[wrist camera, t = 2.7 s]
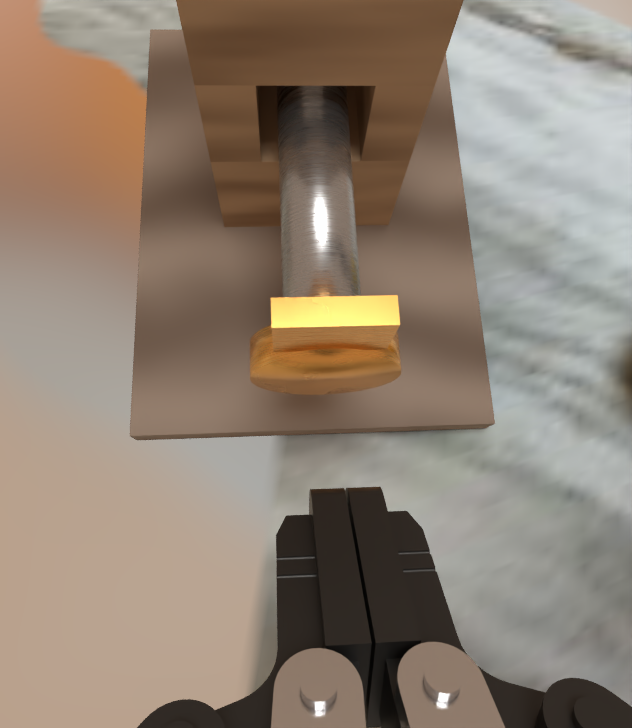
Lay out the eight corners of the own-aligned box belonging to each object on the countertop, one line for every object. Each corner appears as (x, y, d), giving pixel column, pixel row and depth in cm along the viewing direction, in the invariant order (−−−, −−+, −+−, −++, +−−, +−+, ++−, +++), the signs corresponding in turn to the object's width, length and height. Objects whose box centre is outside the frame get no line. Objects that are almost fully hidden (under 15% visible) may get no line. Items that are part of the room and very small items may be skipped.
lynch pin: (387, 392, 20) (432, 331, 14) (254, 396, 20) (238, 336, 14) (364, 106, 24) (392, -47, 17) (251, 106, 23) (237, -50, 17)
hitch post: (485, 428, 26) (831, 256, 9) (136, 440, 25) (-157, 273, 8) (437, 49, 32) (595, -457, 16) (155, 47, 31) (5, -492, 15)
